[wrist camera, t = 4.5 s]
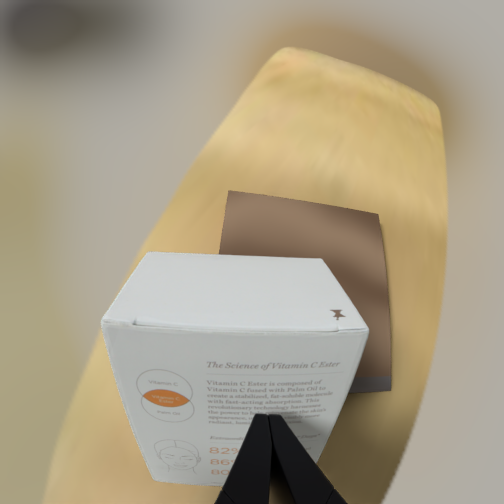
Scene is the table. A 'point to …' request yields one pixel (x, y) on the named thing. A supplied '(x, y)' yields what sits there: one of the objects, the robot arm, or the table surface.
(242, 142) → the table surface
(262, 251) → the floor panel
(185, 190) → the table surface
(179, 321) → the small box
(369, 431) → the table surface
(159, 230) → the table surface
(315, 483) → the robot arm
